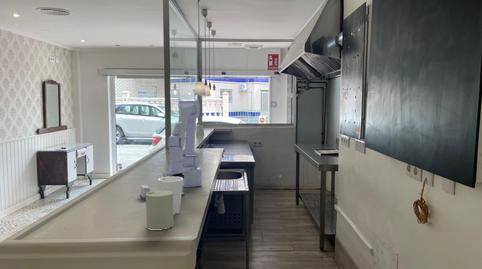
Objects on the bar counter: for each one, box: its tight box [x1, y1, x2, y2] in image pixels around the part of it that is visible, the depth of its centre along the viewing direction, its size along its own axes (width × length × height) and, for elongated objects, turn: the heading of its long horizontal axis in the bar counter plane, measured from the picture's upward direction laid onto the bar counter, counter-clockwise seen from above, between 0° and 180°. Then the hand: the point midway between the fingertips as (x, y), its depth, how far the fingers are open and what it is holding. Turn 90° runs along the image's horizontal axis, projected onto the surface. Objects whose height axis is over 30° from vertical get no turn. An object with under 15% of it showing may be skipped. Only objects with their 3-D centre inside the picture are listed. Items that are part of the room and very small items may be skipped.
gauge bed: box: [139, 184, 186, 202], centre depth 162 cm, size 18×10×5 cm, turn 118°
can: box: [145, 189, 175, 229], centre depth 120 cm, size 9×9×12 cm
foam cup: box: [157, 176, 183, 215], centre depth 136 cm, size 10×9×13 cm
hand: (177, 190), depth 166 cm, fingers closed
